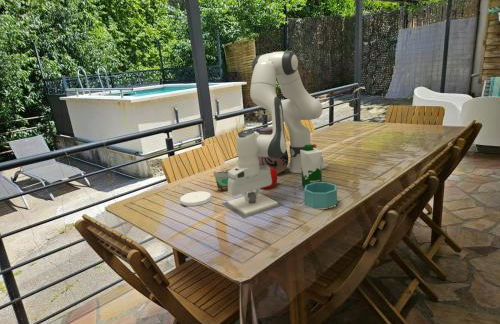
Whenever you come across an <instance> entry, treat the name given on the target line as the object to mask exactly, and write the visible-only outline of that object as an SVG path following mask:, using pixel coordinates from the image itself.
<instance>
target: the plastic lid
mask: <svg viewBox="0 0 500 324" xmlns="http://www.w3.org/2000/svg"><path fill="white" fill-rule="evenodd" d="M211 199H212V195H211V193H210V192H208V191H192V192H188V193H185V194H183V195H181V197H180V198H179V201H180V204H181V205H182V206H184V207H185V206H186V207H187V206H188V207H193V206H194V207H195V206H200V205H205V204H206V203H208V202H210V200H211Z"/></svg>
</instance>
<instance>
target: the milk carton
mask: <svg viewBox="0 0 500 324" xmlns="http://www.w3.org/2000/svg"><path fill="white" fill-rule="evenodd" d="M300 154H301V170H302V173H301V181H302V183H301V185H302V187H303V188H304V187H305V185H308V184H311V183H314V182H323V179H322V178H323V177H322V176H323V175H322V173H323V172H322V169H321V156H322V154H323V151H322V150H320V149H318V148H317V147H316V148H313V144H312V145H305V146H304V150H300Z"/></svg>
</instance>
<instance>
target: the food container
mask: <svg viewBox="0 0 500 324" xmlns="http://www.w3.org/2000/svg"><path fill="white" fill-rule="evenodd" d="M230 170H231V169H230ZM230 170H229V169H228V170H222V171H220V172H216V171H214V172H213V177H214V178H215V181H216V186H217V190H218V191H219V192H222V193H224V192H228V179H229V177H230V176H229V175H228V171H230Z"/></svg>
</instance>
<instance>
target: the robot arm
mask: <svg viewBox="0 0 500 324" xmlns="http://www.w3.org/2000/svg"><path fill="white" fill-rule="evenodd" d="M298 68H299V58H298V55H297V54H296V53H295V52H294V51H291V50H286V51H285V50H284V51H273V52H270V53H265V54H259V55H257V56H255V57H254V58H253V60H252V63H251V69H252V75H251V80H250V88H249V94H250V95H249V96H250V99H251V101H252V103H254V104H255V105H257V106H258V107H259V108H263V109H265V110H267V111H269V113H270V115H271V126H272V128H273V133H272V134H271V135H261V134H259V133H257V132H255V131H254V130H252V129H244V130H240V131H239V132H238V133H237V134H236V139H235V140H236V141H235V143H236V146H235V147H236V154H237V156H238V157H237V159H238V160H237V165H236V166H234V167H233V168H231V169H230V171H228V175H229V176H230V177H229V179H228V191H227V192H228V194H230V195H231V196H232V197H235V196H238V195H242V197H245V201H246V202H248V201H250V198H249V197H248V196H247V195H248V193H249V192H253V191H254V192H255V198H256V199H257V198H259V193H261V189H263V188H262V187H266V186H269V185H271V183H272V178H271V174H270V167H269V166H268V165H263V166H259V159H258V156H259V157H270V158H275V159H278V158H280V157H281V156H283V155H284V153H285V152H286V149H287V141H286V135H285V125H286V127H287V130H288V135H289V154H290V157H289V158H290V159H289V165H288V171H289V172H290V173H294V174H302V170H301V154H300V150H304V146H305V145H313V148H316V149H317V147H318V145H317V144H315V143H313V144H312V143H311V131H310V129H309V127H307V126H305V125H304V124H303V122H302V120H303V121H312V120H316V119H319V118H320V117H321V116H322V114H323V105H322V102H321V101H320V100H319V99H317V98H315V97H313V96H312V95H311V94H310V93H309V92H308V91H307V90H306V88H305V87H304V84H303V82H302V78H301V75H300V73H299V70H298ZM277 82H278V86H279V87H280V91H281V94H282V95H283V97H284V98H286V99H282V100H281V98H280V97H278V96H277V91H276V89H277V88H276V87H277ZM267 166H268V167H267ZM328 167H329V165H328V163H325V162H324V157H323V156H322V155H321V170H323V169H326V168H328Z"/></svg>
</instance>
